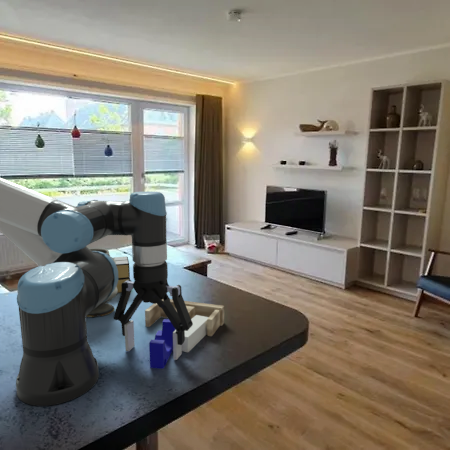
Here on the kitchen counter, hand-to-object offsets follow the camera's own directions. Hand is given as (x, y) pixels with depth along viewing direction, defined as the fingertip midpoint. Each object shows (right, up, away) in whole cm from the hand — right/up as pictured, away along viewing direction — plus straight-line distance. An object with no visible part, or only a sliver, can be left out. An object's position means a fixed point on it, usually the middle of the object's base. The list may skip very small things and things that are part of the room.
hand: (153, 352), depth 87 cm
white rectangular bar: (+9, +1, +7) cm, 11 cm away
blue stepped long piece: (+2, -1, 0) cm, 2 cm away
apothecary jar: (-21, +4, +24) cm, 32 cm away
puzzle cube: (-21, +7, +43) cm, 49 cm away
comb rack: (+6, +3, +15) cm, 16 cm away
